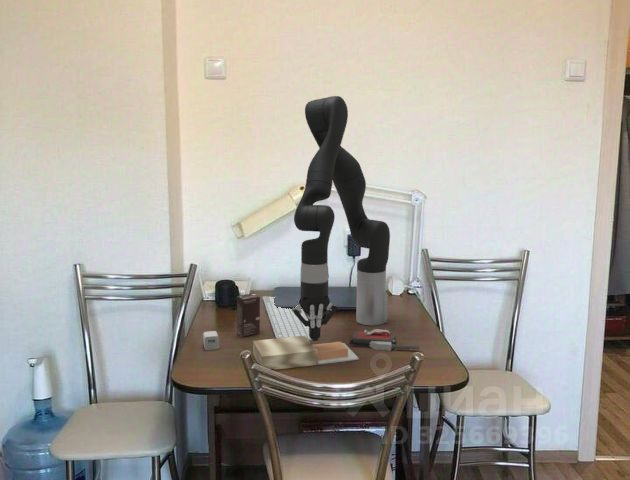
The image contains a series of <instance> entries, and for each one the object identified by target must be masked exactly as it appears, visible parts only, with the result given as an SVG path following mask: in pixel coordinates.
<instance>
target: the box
mask: <svg viewBox="0 0 630 480" xmlns="http://www.w3.org/2000/svg"><path fill="white" fill-rule="evenodd" d="M260 297H261V296H259V295H258V294H255V293H247V294H242V295H237V296H236V334H237V335H239V336H240V337H242V338H244V337H248V336H254V335H260V332H261V330H260V329H261V328H260V327H261V325H260V324H261V319H260V318H261V317H260V316H261V314H260V311H261V298H260Z"/></svg>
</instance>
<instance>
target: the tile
mask: <svg viewBox="0 0 630 480" xmlns="http://www.w3.org/2000/svg"><path fill="white" fill-rule="evenodd" d="M342 343H343V342H342V341H332V342H325V343H316V344H313V346H314V347H315V348H316V349H317V350H318V360H324V359H332V358H340V357H348V348H349V347H348V346H347V345H346V344H345V345H346V346H347V347H348V348H347V347H346V346H345V345H343V344H342Z"/></svg>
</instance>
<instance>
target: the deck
mask: <svg viewBox="0 0 630 480" xmlns="http://www.w3.org/2000/svg"><path fill="white" fill-rule="evenodd" d="M313 345H314V344H313V343H312V341H309V340H308V338H307V337H306V336H295V337H286V338H276V337H275V338H270V339H258V340H252V355H253V357H254V359H255V361H256V362H257V364H258V363H259V364H261V365H263V366H266V367H268V368H271V369H274V370H273V371H275V370H284V369H292V368H300V367H308V366H311V367H312V366H317V365H318V350H317V349H316V348H315V347H314V346H313ZM259 364H258V365H259Z"/></svg>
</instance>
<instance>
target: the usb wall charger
mask: <svg viewBox="0 0 630 480" xmlns="http://www.w3.org/2000/svg"><path fill="white" fill-rule="evenodd" d="M219 339H220V338H219V335H218V332H217V331H216V330H214V331H213V330H212V331H211V330H210V331H204V332H203V333H202V341H203V347H204V350H205V351H211V350H219V348H220V340H219Z"/></svg>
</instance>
